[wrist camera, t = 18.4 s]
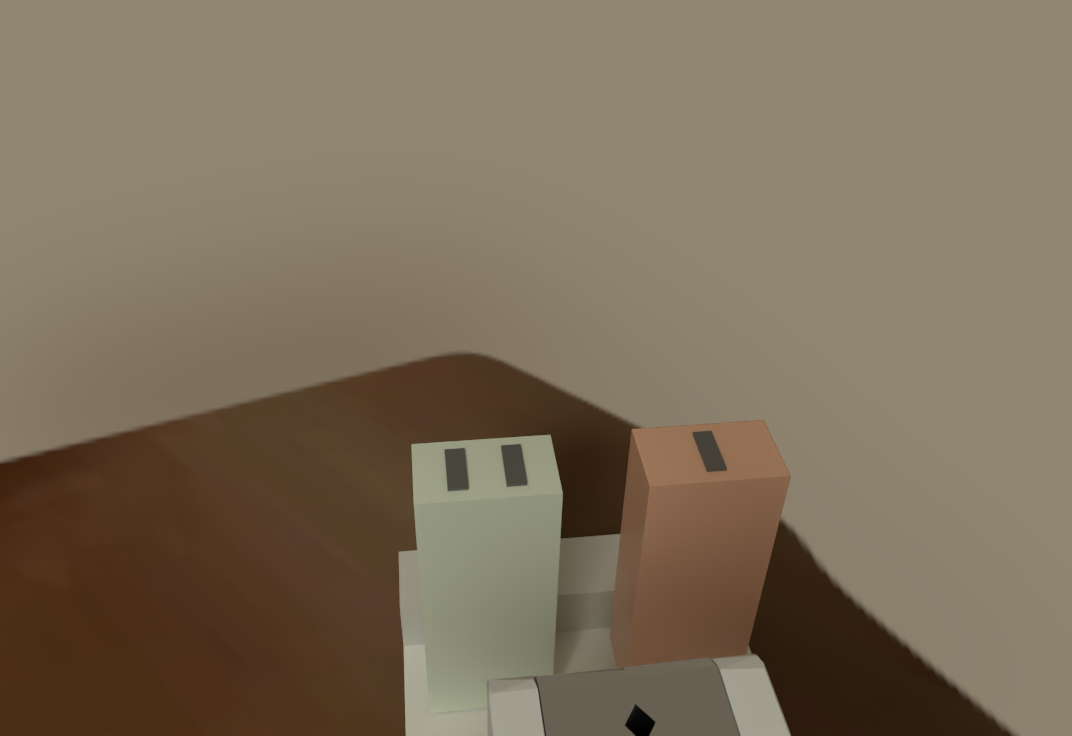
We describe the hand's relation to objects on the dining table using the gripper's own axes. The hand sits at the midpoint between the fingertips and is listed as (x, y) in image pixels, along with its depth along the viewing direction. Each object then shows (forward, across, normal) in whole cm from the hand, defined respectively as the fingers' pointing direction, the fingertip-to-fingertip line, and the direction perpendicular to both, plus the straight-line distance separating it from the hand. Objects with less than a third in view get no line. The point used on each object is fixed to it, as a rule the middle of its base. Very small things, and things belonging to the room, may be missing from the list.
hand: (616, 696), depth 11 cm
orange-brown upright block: (+19, -8, +26) cm, 33 cm away
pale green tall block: (+19, 0, +26) cm, 32 cm away
